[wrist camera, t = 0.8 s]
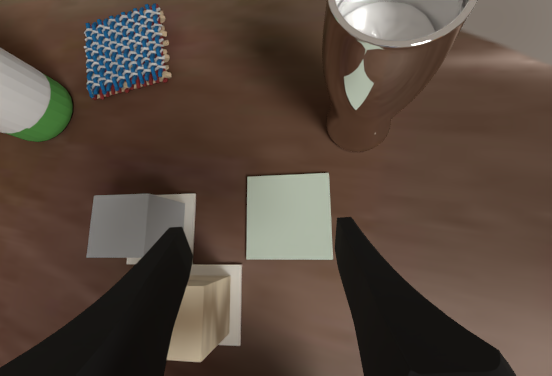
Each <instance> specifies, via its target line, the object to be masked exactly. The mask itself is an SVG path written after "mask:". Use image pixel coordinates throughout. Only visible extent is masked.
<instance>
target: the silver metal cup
mask: <svg viewBox="0 0 552 376" xmlns="http://www.w3.org/2000/svg"><path fill="white" fill-rule="evenodd" d="M477 1H478V0H327V1H326V9H325V17H324V26H323V39H322V64H323V73H324V78H325V84H326V88H327V91H328V95H329V98H330V101H331V107H330V109H329V111H328V114H327V118H326V128H327V132H328V134H329V136H330V138H331V139H332V141H333V142H334V143H335V144H336V145H338V146H339V147H341V148H343V149H345V150H348V151H352V152H363V151H368V150H371V149H373V148H375V147H376V146H378V145H379V144H381V143H382V142H383V141H384V139H385V138H386V137H387V135H388V133H389V130H390V126H391V119H392V118H393V117H394V116H395V115H397V114H398V113H399V112H400V111H401V110H403V109H404V108H405V107H406V106H407V105H408V104H410V103H411V102H412V101H413V100H414V99H415V98H416V97H417V96H418V95H419V93H420V92H421V91H422V90H423V89H424V88H425V87H426V85H427V84H428V83H429V81H430V80H431V79H432V77H433V76H434V75H435V73H436V72H437V71H438V69H439V67H440V66H441V64H442V63H443V61H444V59H445V58H446V56H447V55H448V53H449V51H450V49H451V47H452V46H453V44H454V42H455V40H456V38H457V36H458V34H459V33H460V31H461V29H462V27H463V25H464V23H465V21H466V19H467V17H468V16H469V14H470V13H471V12H472V10H473V9H474V7H475V5H476V3H477Z"/></svg>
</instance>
